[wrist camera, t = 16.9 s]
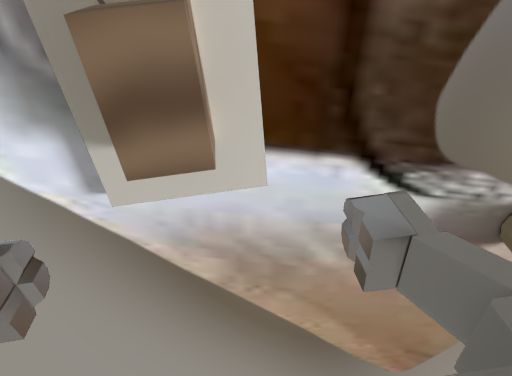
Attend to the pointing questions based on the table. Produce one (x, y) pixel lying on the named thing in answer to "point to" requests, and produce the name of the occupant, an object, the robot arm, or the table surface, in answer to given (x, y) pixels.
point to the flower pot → (507, 232)
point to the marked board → (218, 90)
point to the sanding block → (148, 84)
